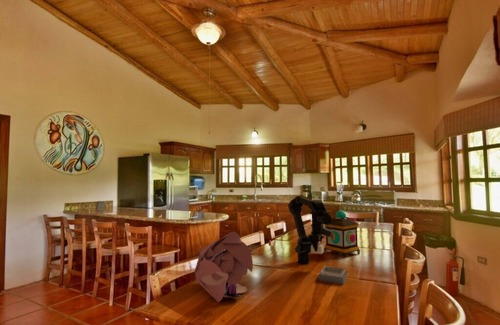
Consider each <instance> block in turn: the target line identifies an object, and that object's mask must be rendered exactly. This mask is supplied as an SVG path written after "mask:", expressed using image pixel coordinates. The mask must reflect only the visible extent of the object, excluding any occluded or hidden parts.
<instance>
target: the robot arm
mask: <svg viewBox="0 0 500 325" xmlns="http://www.w3.org/2000/svg"><path fill="white" fill-rule="evenodd" d="M304 206H306V207H308V209H309V210H311V211H310V212H309V214H310V215H311V224H310V227H311V231H310V233H309V234H308V235H307V233H306V230H305V226H304V221H303V218H302V210H303V207H304ZM287 207H288V210H289V213H290V214H291V215H292V216H293V220H294V223H295V228H296V231H297V232H296V233H297V235H298V236H297V237H298V239H297V242H296V243H297V245H296V246H295V248H294V250H295V253H297V262H296V263H297V264H303V265H308V264H309V263H310V262H311V255H310V253H311V245H313V248H314V250H315V251H317V249H318V242H319V241H320V242H321V243H322V240H323V239H324V238H326V236H328V237H330V236H331V234H332V232H333V231H332V229H331V227H328V228H326V227H325V225H329V224H330V223H331V222H332V219H333V218H332V216H331V215H330V214H329V211H327V208H326V207H325V205H324V202H323V200H316V199H311V198H308V197H306V196H304V195H297V196H295V197H294V198H293V199H291V200H290V201H289V203H288V204H287ZM324 224H325V225H324ZM311 254H312V253H311Z"/></svg>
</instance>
